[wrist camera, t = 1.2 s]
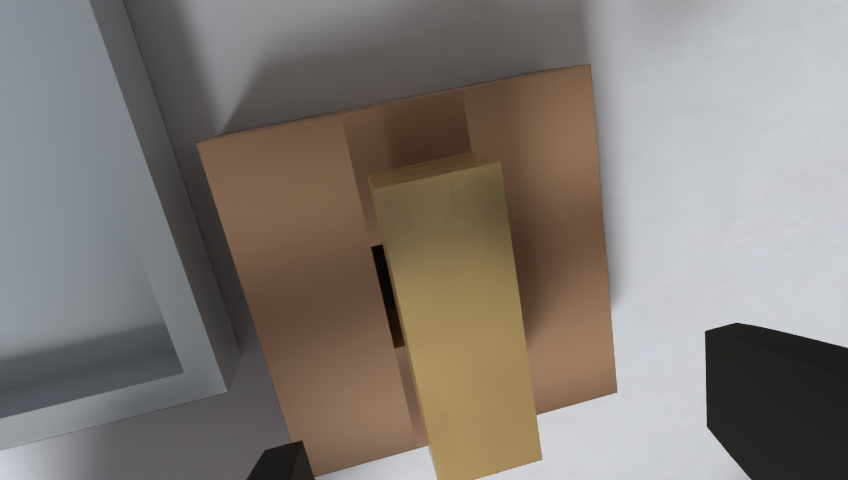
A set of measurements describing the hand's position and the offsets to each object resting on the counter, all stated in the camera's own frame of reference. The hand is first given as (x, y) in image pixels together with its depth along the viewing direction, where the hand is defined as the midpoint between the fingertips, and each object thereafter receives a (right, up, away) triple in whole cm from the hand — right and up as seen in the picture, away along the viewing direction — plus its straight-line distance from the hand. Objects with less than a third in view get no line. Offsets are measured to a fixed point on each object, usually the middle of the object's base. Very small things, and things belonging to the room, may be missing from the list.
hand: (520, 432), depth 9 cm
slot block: (-2, +3, +10) cm, 10 cm away
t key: (-2, +3, +10) cm, 10 cm away
